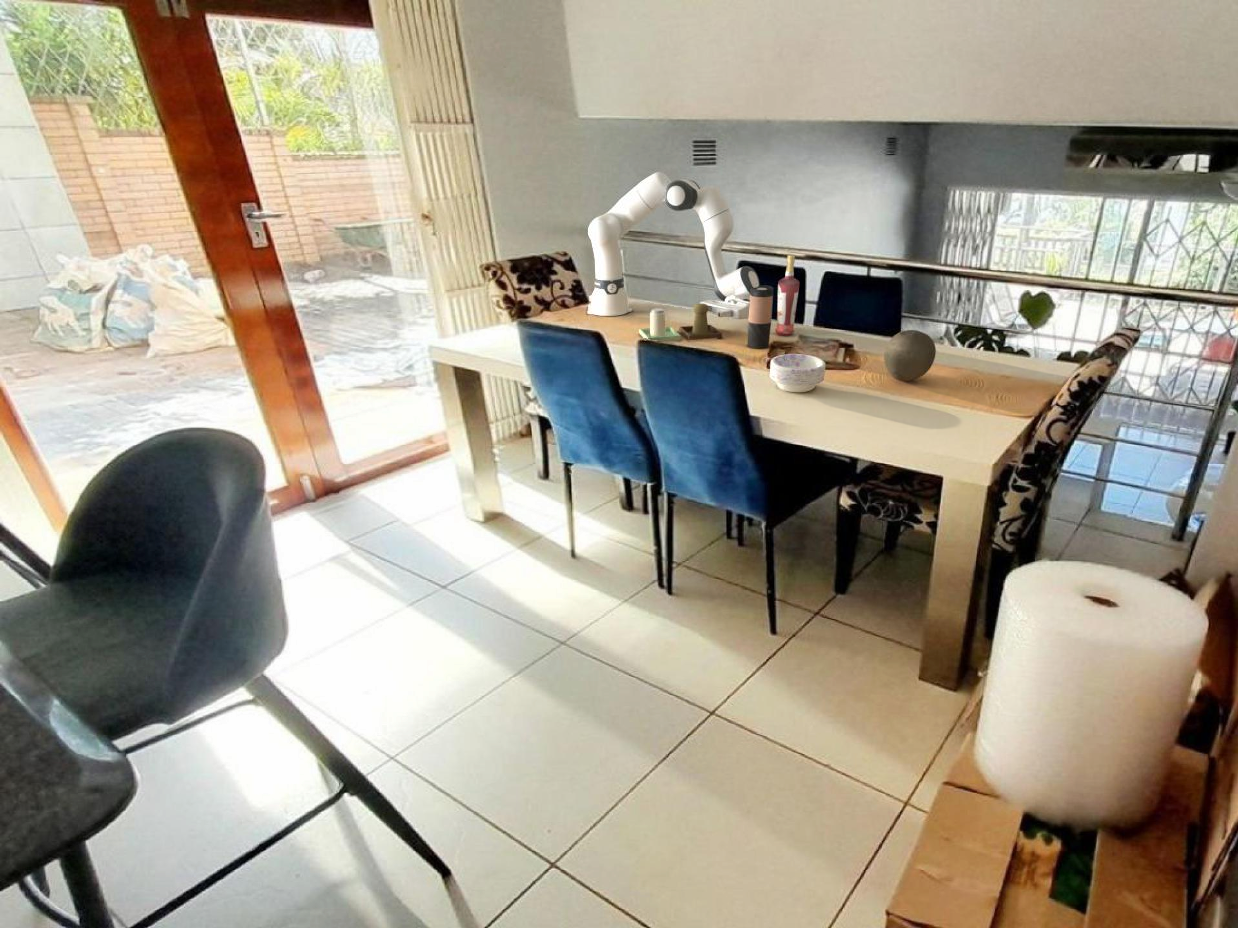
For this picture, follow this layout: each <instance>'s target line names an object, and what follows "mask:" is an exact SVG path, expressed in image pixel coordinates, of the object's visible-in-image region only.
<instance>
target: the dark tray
mask: <svg viewBox="0 0 1238 928" xmlns="http://www.w3.org/2000/svg"><path fill="white" fill-rule="evenodd" d="M678 331H679V333H681V334H682V335H683V336H684V337H685V338H686V339H688V341H693V340H707V339H717V340H722V339H723V333H722V332H721V331H720V330H718V329H717V328H716V327H714V326H713V325H712V324H708V334H700V335H692V331H693V325H686V326H679V327H678Z"/></svg>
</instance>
